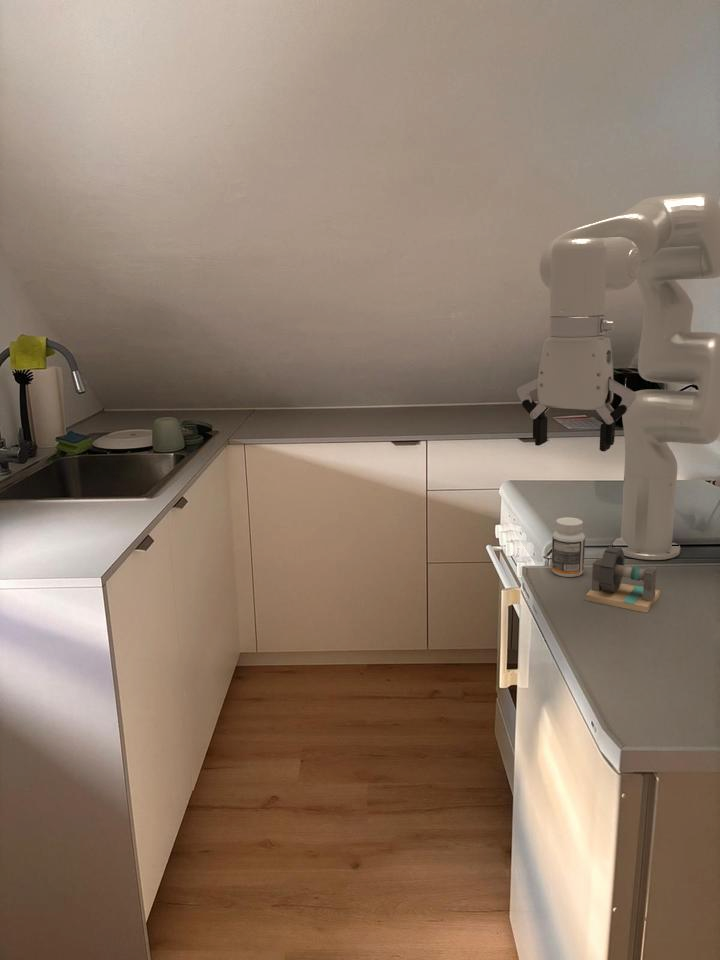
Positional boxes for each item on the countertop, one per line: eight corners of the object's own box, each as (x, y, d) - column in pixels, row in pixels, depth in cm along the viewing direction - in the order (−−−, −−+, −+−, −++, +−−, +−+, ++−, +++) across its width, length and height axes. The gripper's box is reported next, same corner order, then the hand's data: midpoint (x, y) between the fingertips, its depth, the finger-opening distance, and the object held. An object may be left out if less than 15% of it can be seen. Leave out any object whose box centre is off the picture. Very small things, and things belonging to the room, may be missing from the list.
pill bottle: (559, 564, 145) (561, 514, 143) (588, 571, 142) (591, 519, 139) (546, 573, 141) (547, 522, 139) (575, 580, 138) (577, 527, 135)
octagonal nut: (611, 580, 133) (613, 542, 132) (623, 583, 132) (625, 544, 131) (598, 594, 128) (600, 554, 126) (610, 596, 127) (612, 556, 125)
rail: (600, 584, 135) (601, 553, 134) (659, 595, 130) (661, 562, 128) (585, 600, 129) (586, 567, 127) (647, 612, 123) (649, 578, 122)
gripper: (646, 327, 108) (639, 447, 112) (528, 327, 117) (526, 437, 121) (631, 331, 102) (624, 457, 106) (508, 330, 111) (507, 446, 115)
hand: (572, 446), depth 114 cm, fingers open, 9 cm apart
